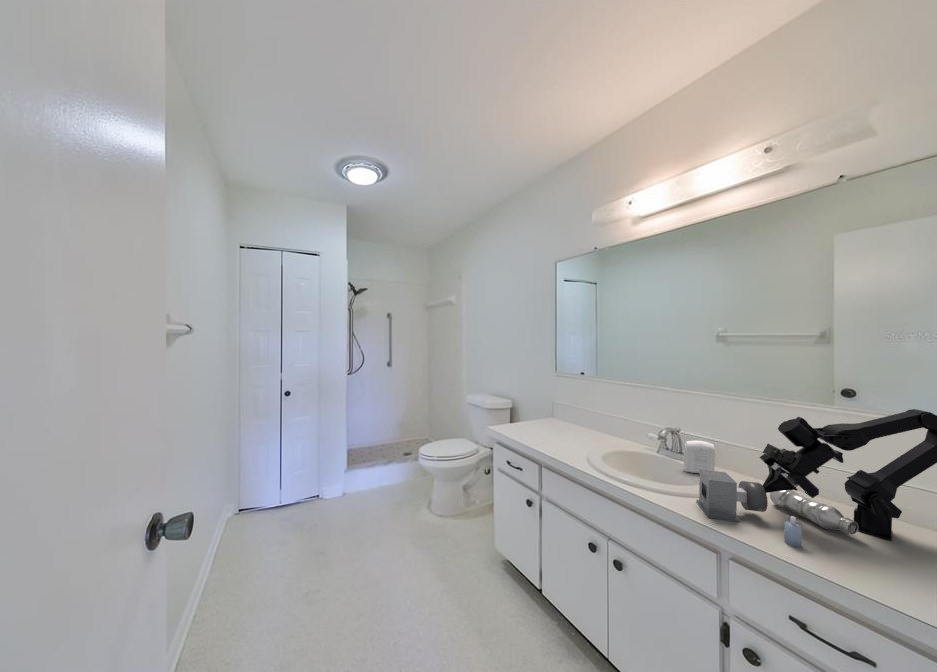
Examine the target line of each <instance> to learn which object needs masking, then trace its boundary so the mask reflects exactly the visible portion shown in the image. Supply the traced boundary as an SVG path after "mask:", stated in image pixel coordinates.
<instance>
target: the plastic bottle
mask: <svg viewBox="0 0 937 672" xmlns="http://www.w3.org/2000/svg"><path fill="white" fill-rule="evenodd" d="M769 498H770V500H771V502H772V504H774V505H775V506H777V507H779V508H781V509H783V510H787V511H790V512H793V513H796V514H798V515H801V516H802V517H804V518H806V519H807V520H810V521H811V522H813V523H815V524H817V525H818V526H819V527H820V528H824V529H825V530H829V531H837V530H840V531H841V532H842V533H846V534H848V535H851V536H853V535H856V533H858V532H859V531H858V524H857V522H855V521H854V519H853V520H852V519H850V518H849V517H845V516H844V515H843V513H842V512H841V511H839V509H837V508H835V507H834V506H832V505H828V504H825V503H821V502H819V501H816V500H813V499H810V498H808V497H806V496H804V495H801V494H800V493H798V492H795V490H785V491H776V492H769Z"/></svg>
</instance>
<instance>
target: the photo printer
mask: <svg viewBox="0 0 937 672" xmlns="http://www.w3.org/2000/svg"><path fill="white" fill-rule="evenodd" d="M715 451H716V449H715V445H714V444H713V443H711V442H709V441H705V440H696V439H695V440H687V441H685V442H684V451H683V452H684V453H683V454H684V455H683V456H684V457H683V471H685V472H686V473H692V474H693V473H694V474H700V470H708V471H715V461H716V460H715V456H716V452H715Z"/></svg>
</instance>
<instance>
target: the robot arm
mask: <svg viewBox="0 0 937 672" xmlns="http://www.w3.org/2000/svg"><path fill="white" fill-rule="evenodd" d="M922 428H923V429H925V430H927V431H926V434H925V439H924V440H923V441H922V442H920V443H918V444H917V445H915V446H914V447H912V448H910V449H908V450H907V451H906V452H904V453H902V454H901V455H900V456H897V457H896V458H895V459H894V460H892V461H890V462H889V463H887V464H886V465H884V466H883V467H881V468H880V469H878V470H877V471H874V472H867V471H864V470H863V469H859V470H857V471H856V472H855V473H854V474H853V475H851V476H847V477H846V478H847V480H846V481H845V482H844V490H845V493H846V494H847V495H848V496H849V497H850V499H851V501H852V502H853V503H855V504H857V506H856V507H857V508H856V507H855V508H854V510H853V521H855V522H857V524H858V531H857V532H861V533H864V534H868V535H872V536H874V537H878V538H881V539H884V540H887V541H893V532H894V530H893V519H899V518H900V516H901V514H902V512H903V511H902V510H901V509H900V508H899V507H898V506H897V505H895V503H893V502H892V501H893V500H894V499H895V498H896V495H897V491H898V488H900V487H901V486H903V485H905V484H906V483H907V482H909V481H910V480H912V479H914V478H915V477H917V476H918V475H920V474H921V473H923V472H926V470H928V469H929V468H931V467H933V466H934V465H936V464H937V415H936V414H934V413H933V412H930V411H925V410H922V409H915V408H913V409H912V408H911V409H907V410H906V411H904V412H899V413H894V414H891V415H887V416H884V417H883V416H882V417H878V418H875V419H871V420H867V421H862V422H857V423H856V422H855V423H843V422H842V423H834V424H833V423H832V424H827V425H824V426H823V427H812V426H811V425H810V424H809V423H808V421H807V420H806V419H804V417H801V416H797V417H796V418H791V419H789V420H786V421H783V422H782V423H780V424H779V425H778V428H777V430H778V432H780V433H781V434H782V436H784V437H785V438H786V439H787V440H788V441H790V443H791V444H792V445H794V446H795V447H801V448H799V450H797V451H794V450H788V449H786V448H778V447H777V446H775V445H773V444H770V443H767V444H766V446H765V447H764V449H763V450H762V453H763V454H761V456H759V459H760V460H761V461H762V462H763V463H764V464H765V465H767V468H768V476H767V477H766V479H765V480H764V482H763V484H761V485H762V486H763V487H764V489H765V492H766V494H767V493H768V494H770V492H776V491H785V490H793V491H798V490H799V489H798V488H797V487H800V488H801V489H802V490H803V491H804V493H805V495H807V496H809V497H810V498H811V499H814V498H816V497H817V496H819V495H820V489H819V488H818V487H817V486H816V485H815V484H814V483H812V481H810V480H809V479H808V476H809V475H810V474H812V473H814V474H818V473H820V472H821V471H820V470H819V469H820V467H823V465H825V464H827V463H828V462H830V461H831V460H832V459H833V460H834V461H836V462H839V463H841V464H843V463H844V461H845V460H844V458H843V454H844V453H843V452H841V451H840V450H835V449H834V448H833V447H836V448H838V449H841V450H843V451H847V452H850V451H855V450H856V449H859V448H863V447H864V446H866V445H867V444H869V442H870V441H873V440H875V439H880V438H884V437H888V436H893V435H897V434H900V433H906V432H910V431H914V430H918V429H919V430H920V429H922ZM820 440H822V441H823V442H822V441H820ZM830 445H832V446H833V447H831V446H830Z"/></svg>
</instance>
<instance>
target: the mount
mask: <svg viewBox="0 0 937 672" xmlns="http://www.w3.org/2000/svg"><path fill="white" fill-rule="evenodd" d="M698 488H699V492H698V493H699V496H698V497H699V499H696V504H697V503H698V504H697V505H698V507H699V508H700V509H701V510H702V512H703V514H704V515H705V516H706V518H708V519H714V520H720V521H728V522H735V523H740V522H741V519H740V518H739V517H738V516H737V502H738V501H737V488H738V482H737V481H736V480H734V479H733V478H732V477H731V476H730V475H729V474H728V473H727V472H725V471H718V470H717V471H716V470H714V471H708V470H700V473H699V487H698Z"/></svg>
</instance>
